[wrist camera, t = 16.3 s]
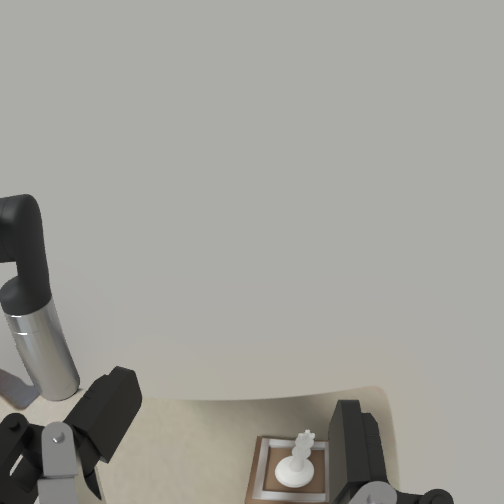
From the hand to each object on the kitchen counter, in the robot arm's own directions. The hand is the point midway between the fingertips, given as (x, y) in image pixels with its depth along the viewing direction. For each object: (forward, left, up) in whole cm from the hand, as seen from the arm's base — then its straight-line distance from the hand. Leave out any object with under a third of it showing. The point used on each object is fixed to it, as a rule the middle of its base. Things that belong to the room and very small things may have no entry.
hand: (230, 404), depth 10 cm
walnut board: (+5, +11, -28) cm, 31 cm away
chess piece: (+5, +11, -27) cm, 29 cm away
